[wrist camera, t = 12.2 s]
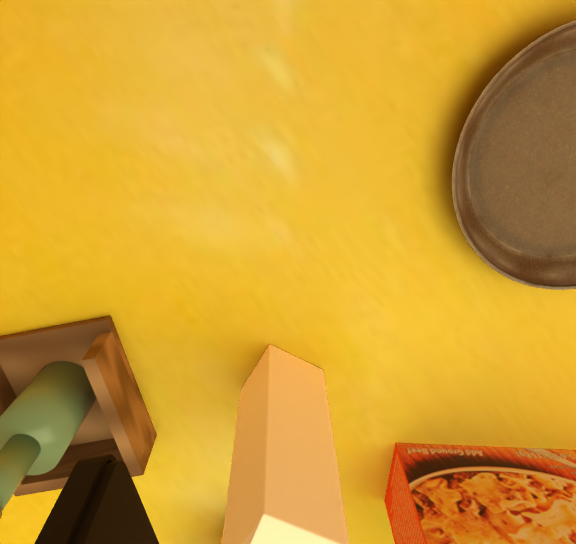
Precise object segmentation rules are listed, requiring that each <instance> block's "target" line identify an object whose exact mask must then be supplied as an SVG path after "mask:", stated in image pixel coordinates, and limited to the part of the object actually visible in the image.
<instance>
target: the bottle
mask: <svg viewBox="0 0 576 544" xmlns="http://www.w3.org/2000/svg"><path fill="white" fill-rule="evenodd" d="M96 399H97V397H96V395H95V393H94V391H93V388H92V386H91V384H90V381H89V379H88V377H87V374H86V372H85V370H84V367H82V366H80V365H78V364H76V363H73V362H68V361H56V362H52V363H49V364H47V365H45V366H44V367H43V368H42V369H41V370H40V371H39V372H38V373H37V374H36V376H35V377H34V378H33V379H32V380H31V381H30V383H29V384H28V385H27V386H26V387H25V388H24V390H23V391H22V392H21V393H20V394H19V395H18V397H17V398H16V399H15V400H14V401H13V403H12V404H11V405H10V406H9V407H8V408H7V410H6V411H5V412H4V413H3V414H2V415H1V417H0V519H1V516H2V510H3V509H4V507H5V506H6V504H7V503H8V501H9V500H10V498H11V497H12V495H13V494H14V492H15V491H16V489H17V487H18V486H19V484H20V483H21V481H22V480H23V478H24V477H25V475H40V474H44V473H47V472H49V471H50V470H52V469H53V468H54V467H55V466H56V465H57V464H58V463H59V461H60V459H61V458H62V456H63V454H64V453H65V451H66V449H67V448H68V446H69V444H70V443H71V441H72V439H73V438H74V436H75V434H76V433H77V431H78V429H79V428H80V426H81V424H82V423H83V421H84V419H85V418H86V416H87V414H88V413H89V411H90V409H91V408H92V406H93V404H94V403H95V401H96Z"/></svg>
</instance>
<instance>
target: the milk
mask: <svg viewBox="0 0 576 544" xmlns="http://www.w3.org/2000/svg"><path fill="white" fill-rule="evenodd" d="M222 544H349V540H348V533H347V527H346V520H345V513H344V506H343V499H342V493H341V486H340V479H339V472H338V465H337V459H336V452H335V445H334V438H333V431H332V425H331V418H330V411H329V404H328V397H327V391H326V384H325V377H324V371H323V370H322V369H320V368H318V367H316V366H314V365H312V364H310V363H308V362H306V361H304V360H302V359H300V358H298V357H295V356H293V355H291V354H289V353H287V352H285V351H283V350H281V349H279V348H277V347H275V346H273V345H269V346H268V348H267V349H266V351H265V352H264V354H263V355H262V357H261V359H260V360H259V362H258V363H257V365H256V366H255V368H254V370H253V371H252V373H251V374H250V376H249V377H248V379H247V380H246V382H245V384H244V385H243V387H242V388H241V391H240V399H239V407H238V415H237V423H236V432H235V440H234V448H233V456H232V464H231V472H230V481H229V489H228V497H227V505H226V513H225V521H224V530H223V538H222Z"/></svg>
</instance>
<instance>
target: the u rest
mask: <svg viewBox="0 0 576 544" xmlns="http://www.w3.org/2000/svg"><path fill="white" fill-rule="evenodd" d="M56 361H68V362H73V363H76V364H78V365H80V366H82V367H84V370H85V372H86V374H87V377H88V379H89V381H90V384H91V386H92V388H93V391H94V393H95V395H96V397H97V399H96V401H95V403H94V404H93V406H92V408H91V409H90V411H89V413H88V414H87V416H86V418H85V419H84V421H83V423H82V424H81V426H80V428H79V429H78V431H77V433H76V434H75V436H74V438H73V439H72V441H71V443H70V444H69V446H68V448H67V449H66V451H65V453H64V454H63V456H62V458H61V459H60V461H59V463H58V464H57V465H56V466H55V467H54V468H53V469H52V470H50V471H49V472H47V473H44V474H40V475H25V477H24V478H23V480H22V481H21V483H20V484H19V486H18V487H17V489H16V491H15V492H14V495H15V496H20V495H26V494H32V493H38V492H44V491H50V490H56V489H62V488H63V487H64V486H65V484H66V482H67V480H68V478H69V476H70V474H71V472H72V470H73V468H74V466H75V465H76V463H77V462H78V461H79V460H80V459H83V458H89V457H95V456H101V455H107V454H112V455H113V456H115V458H116V460H117V461H123V462H125V464H126V466H127V468H128V471H129V473H130V475H131V477H134V476H140V475H143V474H144V471H145V468H146V465H147V462H148V459H149V457H150V454H151V451H152V448H153V445H154V442H155V439H156V436H157V435H156V432H155V430H154V427H153V425H152V422H151V419H150V417H149V414H148V412H147V409H146V406H145V404H144V401H143V399H142V396H141V394H140V391H139V388H138V386H137V383H136V381H135V378H134V375H133V373H132V370H131V368H130V365H129V362H128V360H127V357H126V355H125V352H124V349H123V347H122V344H121V342H120V339H119V336H118V334H117V331H116V329H115V326H114V323H113V321H112V318H111V316H106V317H100V318H95V319H90V320H85V321H79V322H74V323H69V324H63V325H58V326H53V327H48V328H42V329H37V330H32V331H26V332H21V333H16V334H10V335H5V336H0V417H1V415H2V414H3V413H4V412H5V411H6V410H7V408H8V407H9V406H10V405H11V404H12V403H13V401H14V400H15V399H16V398H17V397H18V395H19V394H20V393H21V392H22V391H23V390H24V388H25V387H26V386H27V385H28V384H29V383H30V381H31V380H32V379H33V378H34V377H35V376H36V374H37V373H38V372H39V371H40V370H41V369H42V368H43V367H44V366H45V365H47V364H49V363H52V362H56Z"/></svg>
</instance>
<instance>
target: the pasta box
mask: <svg viewBox="0 0 576 544" xmlns="http://www.w3.org/2000/svg"><path fill="white" fill-rule="evenodd" d="M385 504H386V508H387V513H388V517H389V521H390V525H391V529H392V533H393V537H394V541H395V544H576V450H560V449H535V448H511V447H486V446H461V445H436V444H411V443H395V449H394V454H393V459H392V464H391V470H390V475H389V480H388V485H387V490H386V496H385Z"/></svg>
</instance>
